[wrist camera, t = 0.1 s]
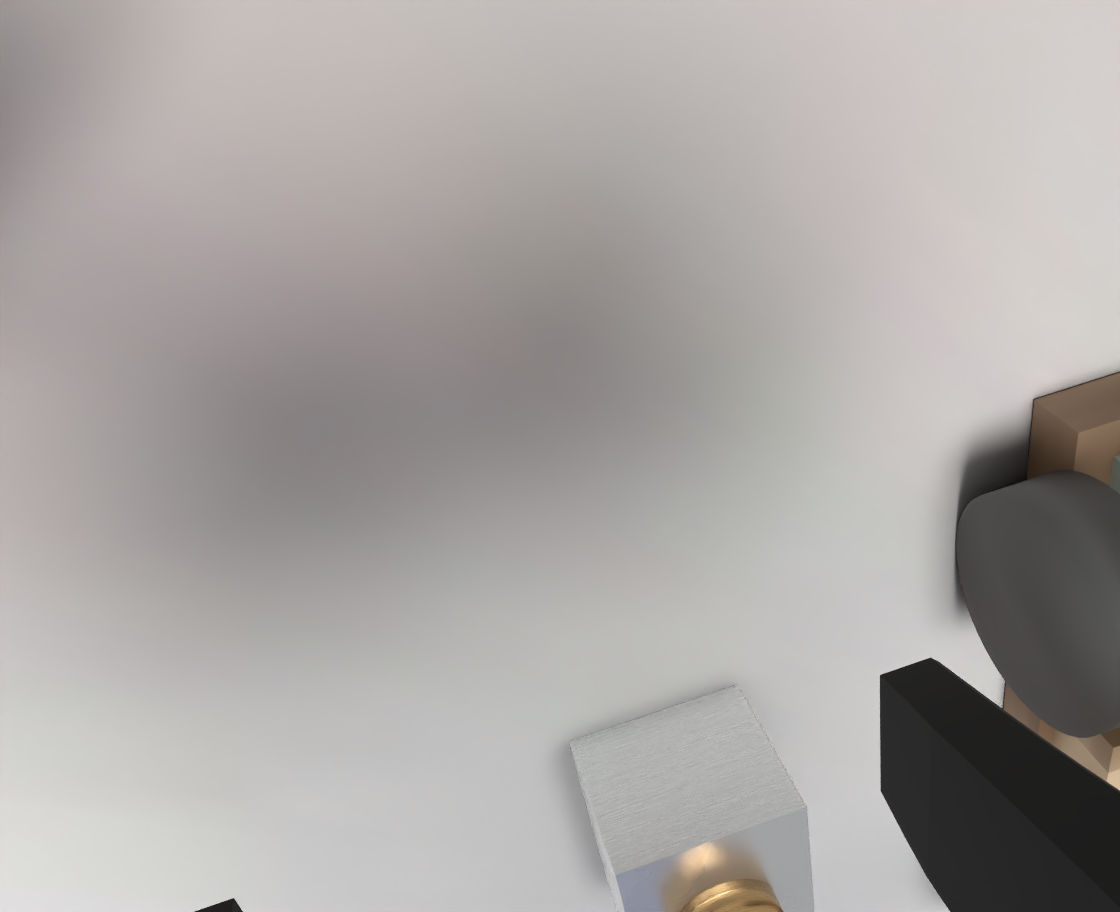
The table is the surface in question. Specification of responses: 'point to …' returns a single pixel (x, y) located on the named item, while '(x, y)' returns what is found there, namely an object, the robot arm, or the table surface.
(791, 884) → the engine block
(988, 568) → the chassis
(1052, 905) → the robot arm
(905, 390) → the table surface
